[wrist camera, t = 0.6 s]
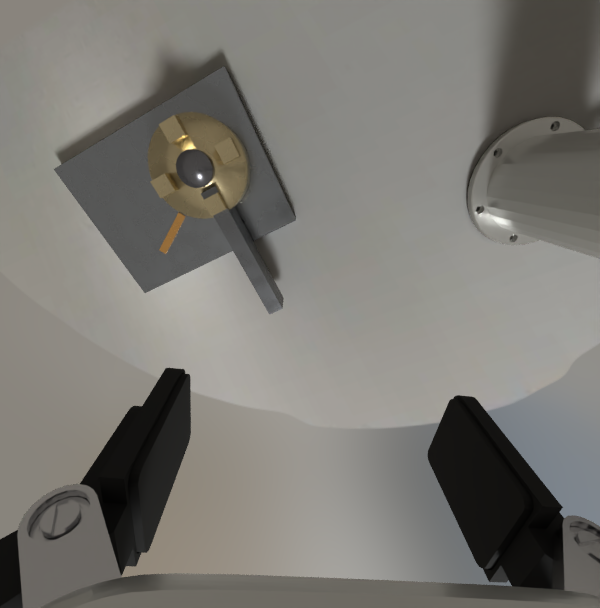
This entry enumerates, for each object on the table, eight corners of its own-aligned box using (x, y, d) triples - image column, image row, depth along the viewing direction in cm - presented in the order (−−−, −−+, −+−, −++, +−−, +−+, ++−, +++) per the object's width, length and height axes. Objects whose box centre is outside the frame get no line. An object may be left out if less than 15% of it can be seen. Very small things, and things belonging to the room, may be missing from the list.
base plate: (227, 70, 29) (223, 65, 28) (296, 218, 35) (295, 220, 33) (64, 168, 32) (53, 169, 31) (150, 288, 38) (144, 293, 37)
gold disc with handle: (220, 97, 28) (210, 88, 25) (311, 284, 36) (313, 297, 33) (141, 144, 30) (121, 141, 27) (244, 314, 38) (239, 329, 34)
